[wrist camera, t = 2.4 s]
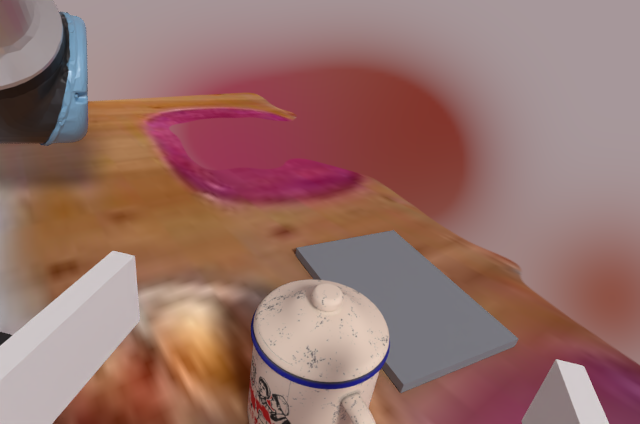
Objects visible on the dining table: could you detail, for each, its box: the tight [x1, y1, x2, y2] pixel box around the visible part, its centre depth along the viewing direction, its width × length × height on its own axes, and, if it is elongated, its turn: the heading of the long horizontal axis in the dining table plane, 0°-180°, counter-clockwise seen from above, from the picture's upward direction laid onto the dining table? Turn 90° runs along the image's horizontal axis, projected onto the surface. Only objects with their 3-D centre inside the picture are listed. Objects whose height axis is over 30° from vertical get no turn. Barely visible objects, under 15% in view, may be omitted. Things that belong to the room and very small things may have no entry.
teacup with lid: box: [248, 279, 390, 424], centre depth 28 cm, size 12×9×12 cm
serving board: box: [296, 230, 518, 393], centre depth 45 cm, size 20×14×1 cm
